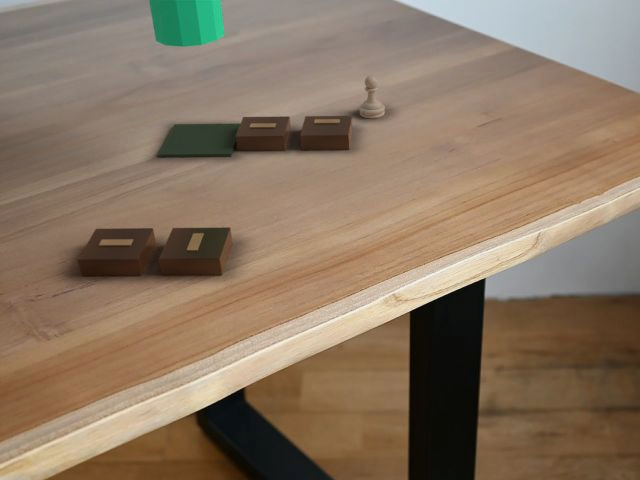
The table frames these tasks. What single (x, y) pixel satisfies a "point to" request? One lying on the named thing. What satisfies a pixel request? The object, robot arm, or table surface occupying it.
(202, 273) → the front word
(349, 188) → the table surface
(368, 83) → the pawn
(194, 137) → the mat
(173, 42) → the candle
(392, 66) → the table surface
